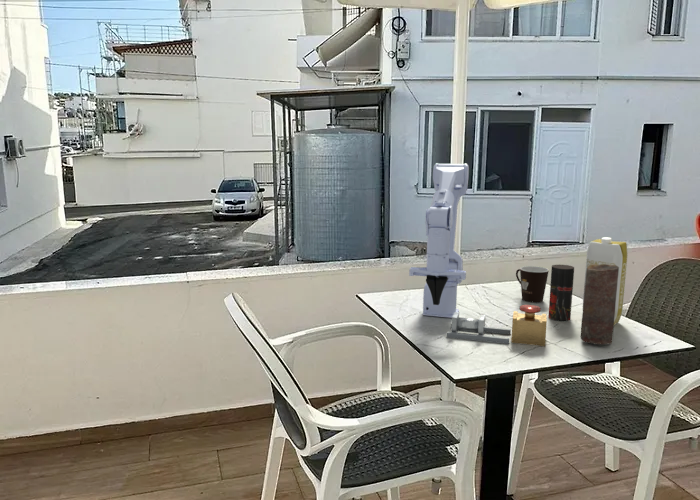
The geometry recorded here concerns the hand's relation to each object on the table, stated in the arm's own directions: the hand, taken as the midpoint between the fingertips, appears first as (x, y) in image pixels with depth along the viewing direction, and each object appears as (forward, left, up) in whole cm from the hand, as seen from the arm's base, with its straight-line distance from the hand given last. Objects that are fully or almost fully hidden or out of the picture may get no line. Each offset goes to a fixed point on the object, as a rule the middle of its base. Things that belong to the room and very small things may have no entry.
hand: (436, 303), depth 149 cm
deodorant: (+31, +22, -8) cm, 39 cm away
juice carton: (+42, +22, -8) cm, 48 cm away
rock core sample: (+39, +3, -8) cm, 40 cm away
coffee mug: (+23, +41, -8) cm, 48 cm away
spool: (+8, 0, -8) cm, 11 cm away
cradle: (+11, 0, -7) cm, 14 cm away
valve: (+23, 0, -7) cm, 25 cm away
